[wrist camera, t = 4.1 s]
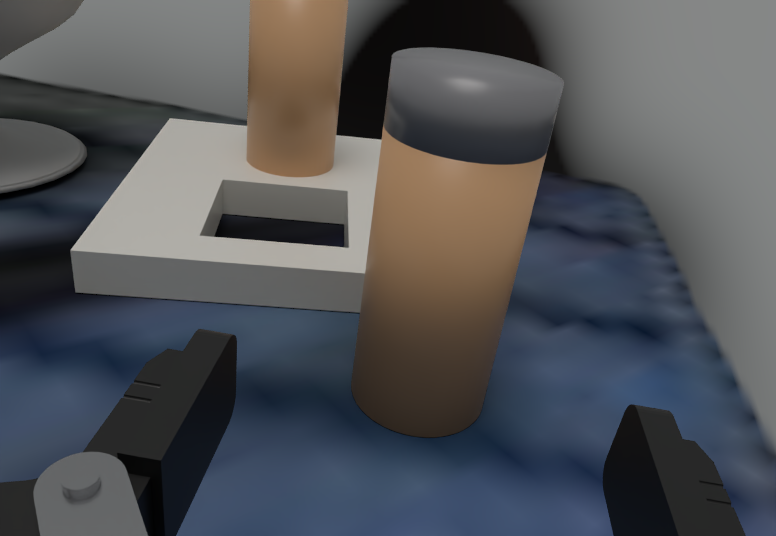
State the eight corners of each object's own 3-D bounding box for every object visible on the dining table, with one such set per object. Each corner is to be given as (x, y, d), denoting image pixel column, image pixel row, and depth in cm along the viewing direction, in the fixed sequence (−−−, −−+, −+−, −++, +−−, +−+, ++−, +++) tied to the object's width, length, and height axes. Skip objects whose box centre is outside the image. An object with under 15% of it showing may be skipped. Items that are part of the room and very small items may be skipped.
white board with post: (75, 292, 28) (30, -84, 21) (170, 148, 43) (162, -94, 37) (450, 319, 30) (519, -19, 23) (412, 171, 45) (446, -55, 38)
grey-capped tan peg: (352, 433, 23) (398, 79, 17) (350, 346, 27) (387, 40, 21) (494, 440, 23) (587, 100, 17) (470, 353, 27) (538, 58, 22)
